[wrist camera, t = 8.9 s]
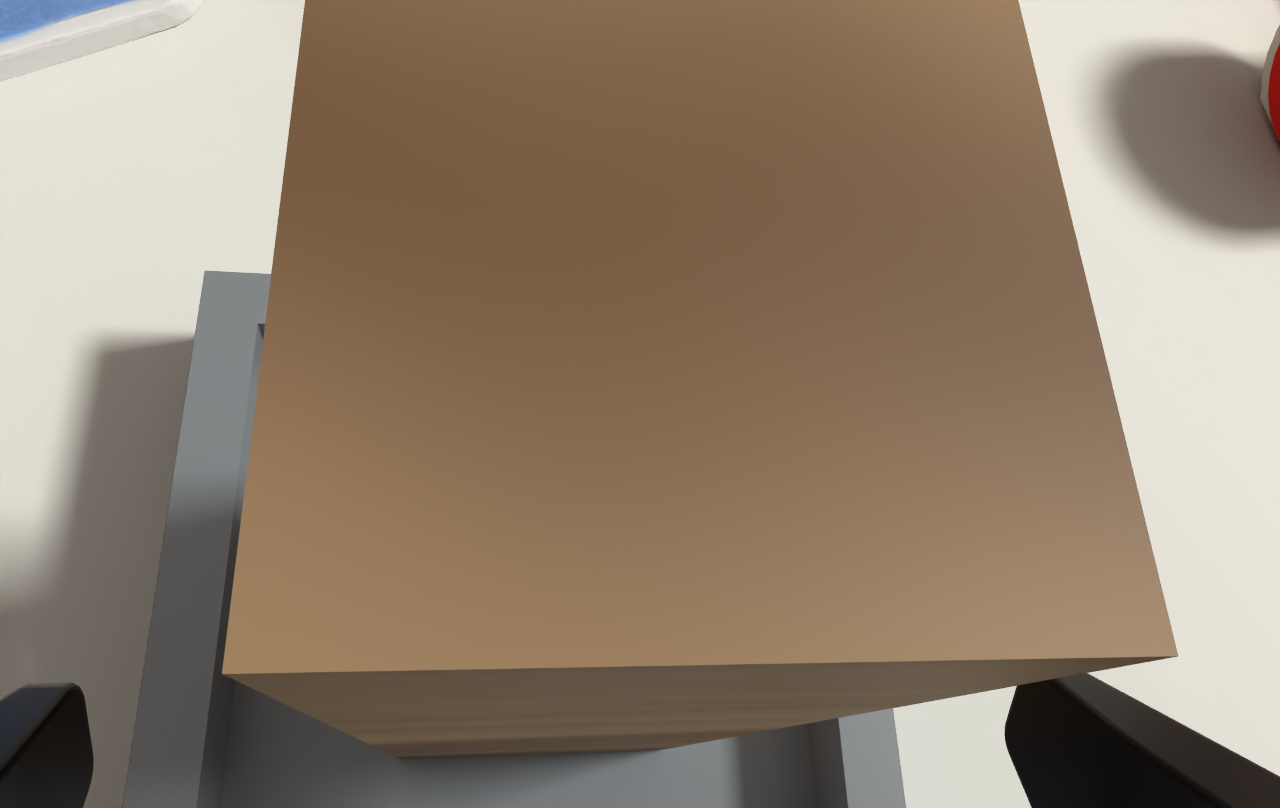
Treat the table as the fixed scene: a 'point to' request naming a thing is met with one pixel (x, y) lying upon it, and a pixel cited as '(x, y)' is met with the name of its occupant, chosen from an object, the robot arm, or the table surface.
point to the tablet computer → (78, 28)
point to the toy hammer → (1272, 84)
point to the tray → (345, 766)
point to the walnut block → (675, 379)
